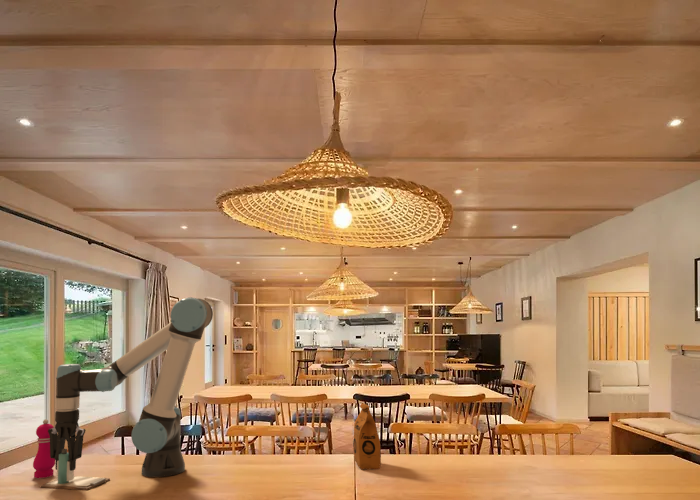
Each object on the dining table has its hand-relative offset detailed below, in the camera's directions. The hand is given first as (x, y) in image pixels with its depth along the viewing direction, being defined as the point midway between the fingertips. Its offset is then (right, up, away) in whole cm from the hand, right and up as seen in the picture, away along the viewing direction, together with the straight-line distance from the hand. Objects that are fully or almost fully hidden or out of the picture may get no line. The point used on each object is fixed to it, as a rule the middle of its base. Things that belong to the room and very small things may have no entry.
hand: (65, 479), depth 202 cm
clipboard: (+3, -2, +1) cm, 4 cm away
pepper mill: (-13, -3, +12) cm, 18 cm away
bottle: (0, -1, -1) cm, 1 cm away
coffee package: (+104, -2, +17) cm, 105 cm away
